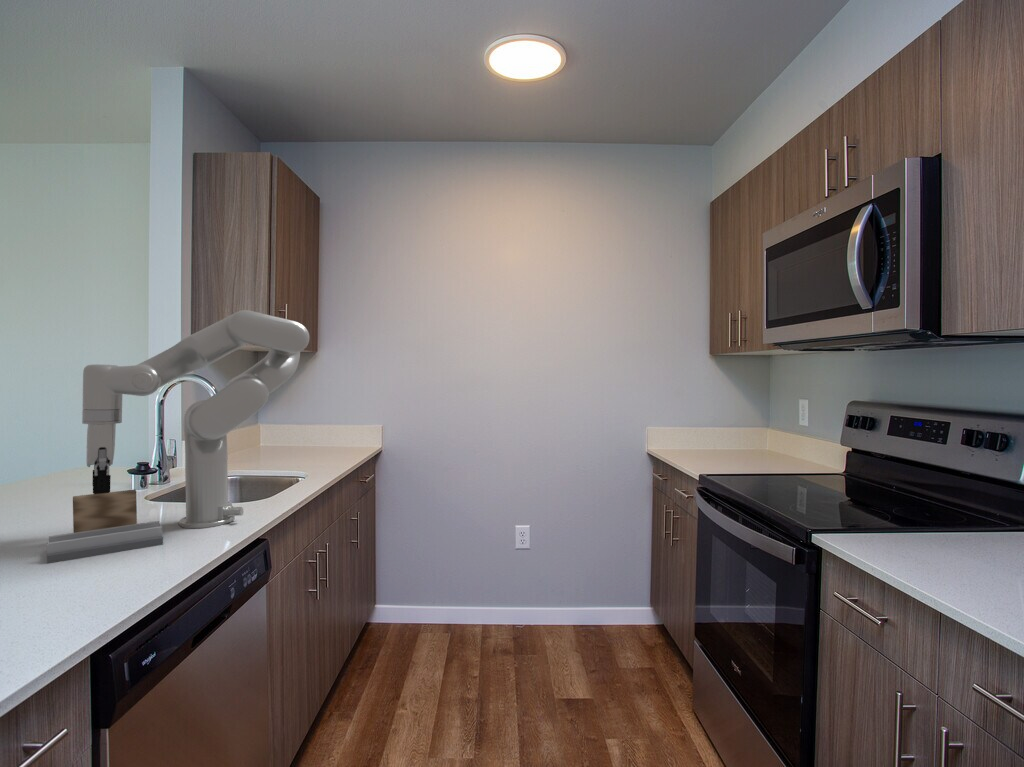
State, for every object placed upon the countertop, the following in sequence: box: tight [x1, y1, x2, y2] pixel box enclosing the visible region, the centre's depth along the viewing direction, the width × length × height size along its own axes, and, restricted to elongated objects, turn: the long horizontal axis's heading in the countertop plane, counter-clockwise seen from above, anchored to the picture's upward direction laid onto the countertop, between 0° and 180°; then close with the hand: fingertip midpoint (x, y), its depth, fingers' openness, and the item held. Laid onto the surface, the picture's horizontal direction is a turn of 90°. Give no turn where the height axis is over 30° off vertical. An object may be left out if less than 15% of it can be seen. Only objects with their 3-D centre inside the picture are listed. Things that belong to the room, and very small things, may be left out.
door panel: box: [72, 489, 138, 533], centre depth 131 cm, size 12×3×10 cm, turn 128°
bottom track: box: [46, 520, 164, 564], centre depth 122 cm, size 20×10×4 cm, turn 128°
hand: (101, 489), depth 130 cm, fingers open, 9 cm apart
